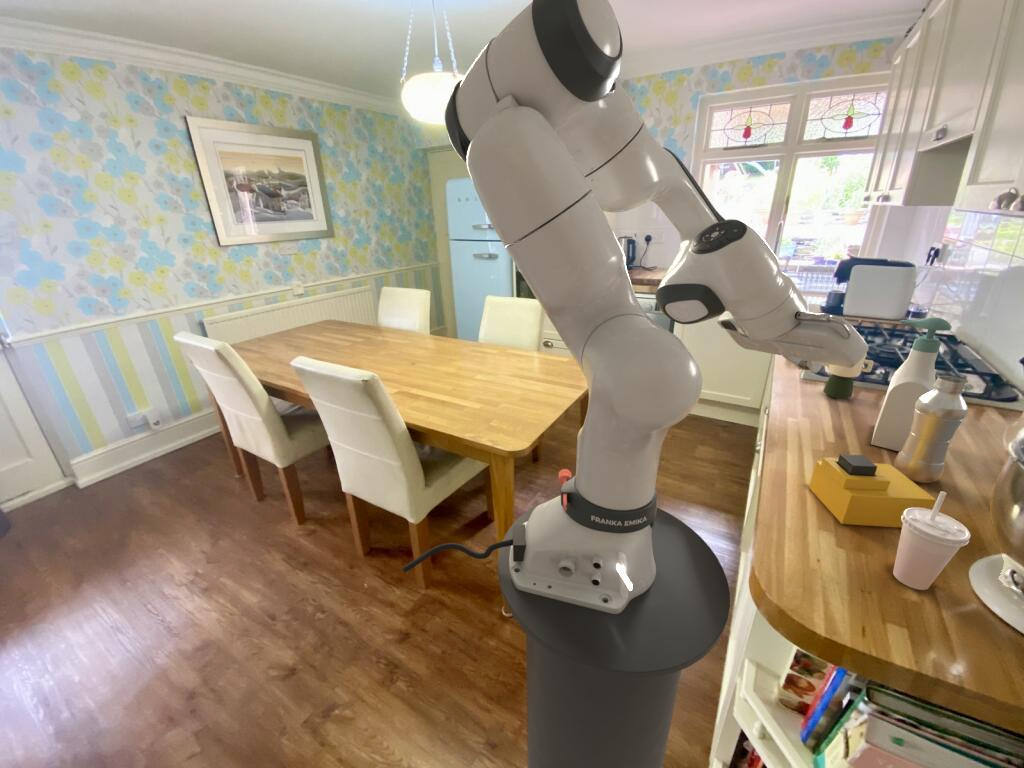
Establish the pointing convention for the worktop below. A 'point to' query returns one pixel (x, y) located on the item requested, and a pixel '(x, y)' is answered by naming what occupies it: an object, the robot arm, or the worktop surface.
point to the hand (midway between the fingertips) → (811, 368)
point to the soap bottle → (909, 386)
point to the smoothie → (927, 544)
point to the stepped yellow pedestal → (867, 494)
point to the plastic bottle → (933, 430)
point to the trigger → (856, 465)
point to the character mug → (844, 378)
